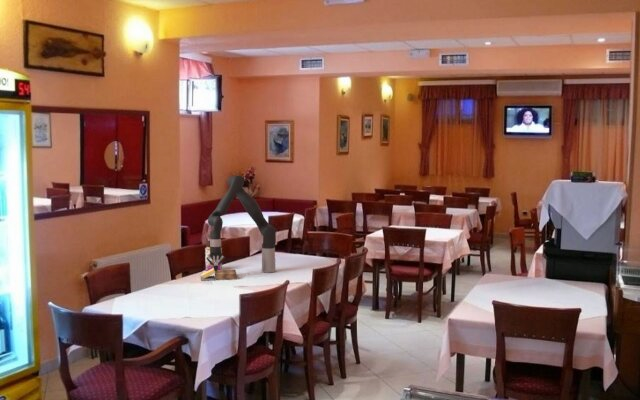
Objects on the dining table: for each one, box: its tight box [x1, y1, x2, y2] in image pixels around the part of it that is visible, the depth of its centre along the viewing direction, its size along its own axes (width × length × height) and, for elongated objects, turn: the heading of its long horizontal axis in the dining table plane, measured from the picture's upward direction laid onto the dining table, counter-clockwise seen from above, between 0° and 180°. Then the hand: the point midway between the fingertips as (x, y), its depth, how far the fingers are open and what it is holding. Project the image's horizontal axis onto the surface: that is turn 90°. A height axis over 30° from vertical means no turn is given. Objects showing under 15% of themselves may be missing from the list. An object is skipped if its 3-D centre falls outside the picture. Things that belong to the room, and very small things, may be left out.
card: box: [201, 268, 215, 279], centre depth 424 cm, size 9×6×2 cm, turn 101°
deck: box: [214, 269, 238, 281], centre depth 425 cm, size 14×13×4 cm
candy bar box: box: [204, 246, 223, 272], centre depth 449 cm, size 11×5×16 cm, turn 84°
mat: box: [200, 275, 216, 282], centre depth 423 cm, size 9×14×1 cm, turn 12°
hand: (215, 270), depth 424 cm, fingers closed
